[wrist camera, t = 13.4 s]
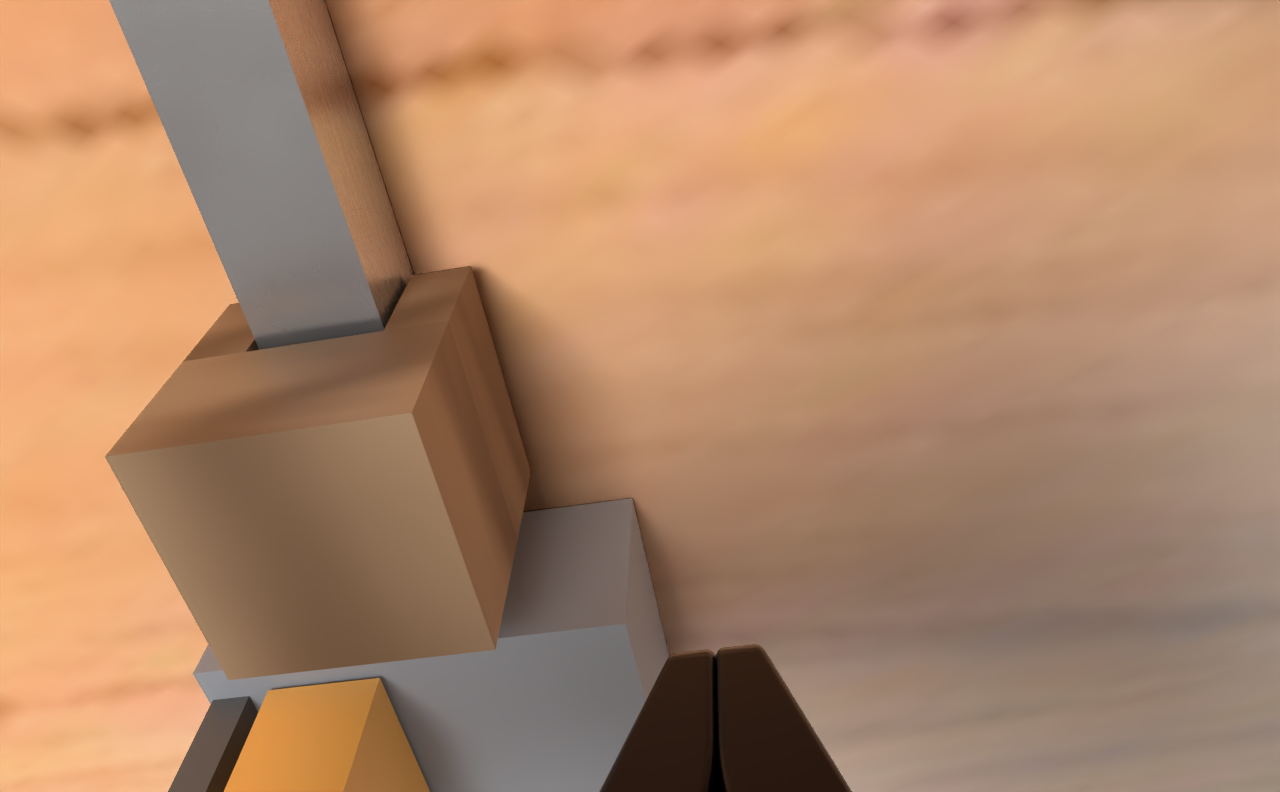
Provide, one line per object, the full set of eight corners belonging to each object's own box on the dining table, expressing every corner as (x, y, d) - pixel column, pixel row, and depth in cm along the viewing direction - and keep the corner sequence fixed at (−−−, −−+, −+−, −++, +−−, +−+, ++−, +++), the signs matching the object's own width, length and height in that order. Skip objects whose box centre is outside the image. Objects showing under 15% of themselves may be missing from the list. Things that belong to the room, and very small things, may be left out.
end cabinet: (632, 498, 23) (620, 722, 18) (670, 659, 26) (669, 897, 20) (260, 546, 24) (141, 772, 19) (333, 697, 27) (247, 933, 22)
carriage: (470, 265, 20) (411, 412, 15) (531, 472, 22) (495, 649, 18) (230, 304, 20) (104, 456, 16) (315, 501, 23) (228, 679, 19)
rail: (253, -219, 16) (191, -217, 14) (490, 509, 24) (472, 580, 21) (111, -188, 16) (31, -181, 14) (390, 522, 24) (363, 593, 22)
